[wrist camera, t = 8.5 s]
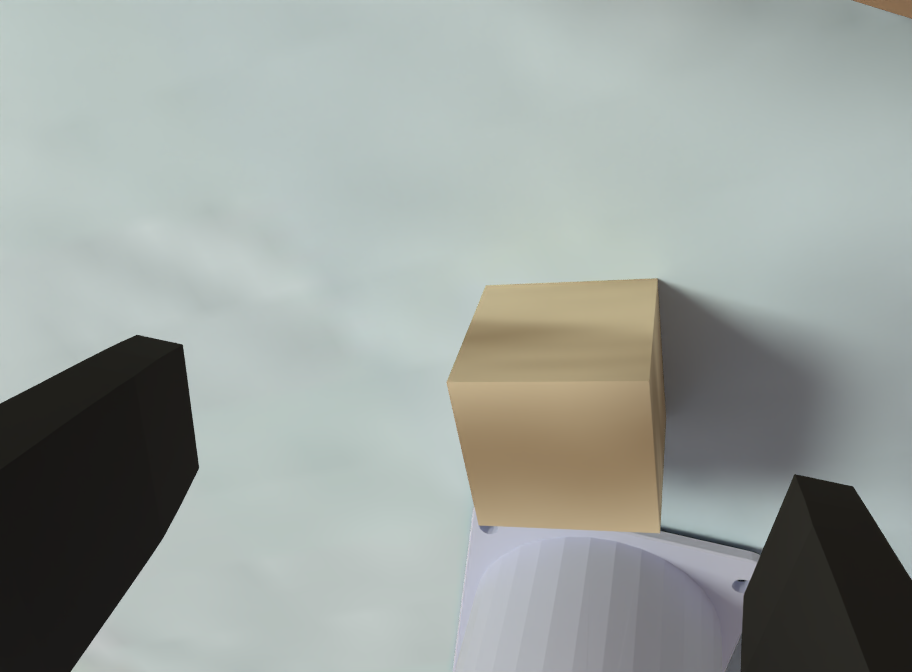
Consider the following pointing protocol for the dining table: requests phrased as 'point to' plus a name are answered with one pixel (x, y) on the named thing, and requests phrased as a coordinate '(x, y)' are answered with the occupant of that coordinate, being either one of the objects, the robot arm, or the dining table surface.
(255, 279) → the dining table surface
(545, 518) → the maple block
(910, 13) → the walnut block
